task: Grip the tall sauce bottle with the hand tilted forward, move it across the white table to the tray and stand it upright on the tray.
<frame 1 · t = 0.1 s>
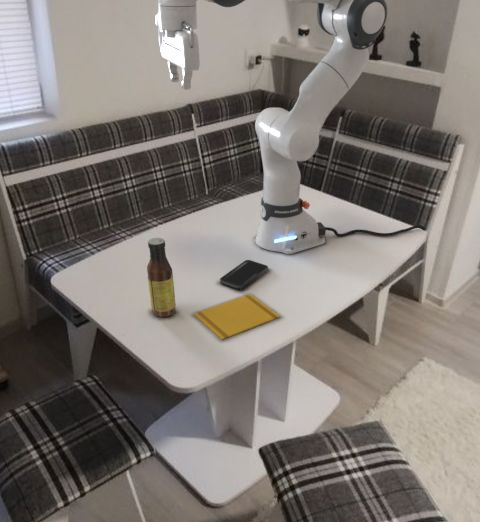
hand: (180, 85, 131), 48 cm above the table, tool pointing down, fingers open, 8 cm apart
phone: (244, 276, 151), on the table
sauce bottle: (163, 312, 136), on the table
tray: (236, 316, 135), on the table
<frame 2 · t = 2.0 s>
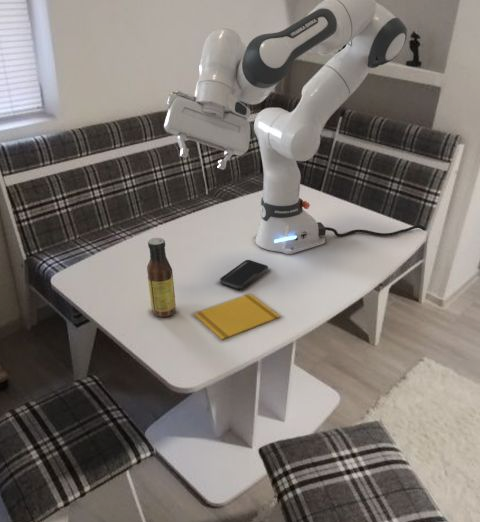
hand: (202, 162, 121), 36 cm above the table, tool tilted 35°, fingers open, 8 cm apart
nothing on the table moved.
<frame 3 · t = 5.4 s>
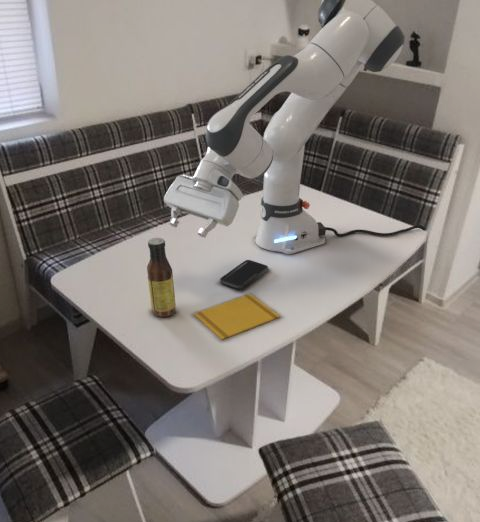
hand: (186, 230, 130), 19 cm above the table, tool tilted 45°, fingers open, 8 cm apart
nothing on the table moved.
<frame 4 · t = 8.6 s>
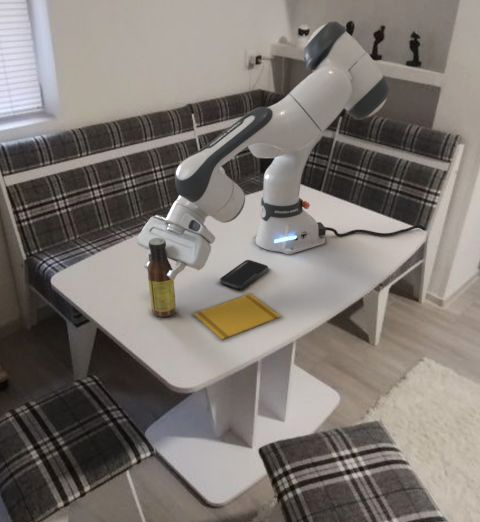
hand: (158, 273, 129), 11 cm above the table, tool tilted 45°, fingers closed on sauce bottle, 6 cm apart
sauce bottle: (163, 312, 136), on the table, touching gripper
everything else where it was.
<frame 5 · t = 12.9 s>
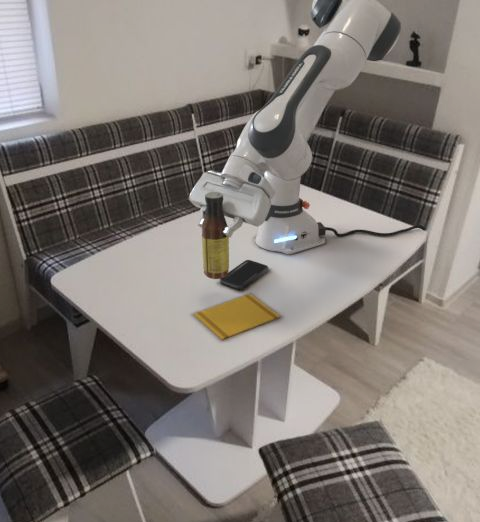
hand: (213, 231, 121), 23 cm above the table, tool tilted 45°, fingers closed on sauce bottle, 6 cm apart
sauce bottle: (215, 274, 128), point 12 cm above the table, touching gripper
everything else where it was.
when the fingers open (12 cm above the table, at t = 17.3 s): sauce bottle stays where it is, resting on tray.
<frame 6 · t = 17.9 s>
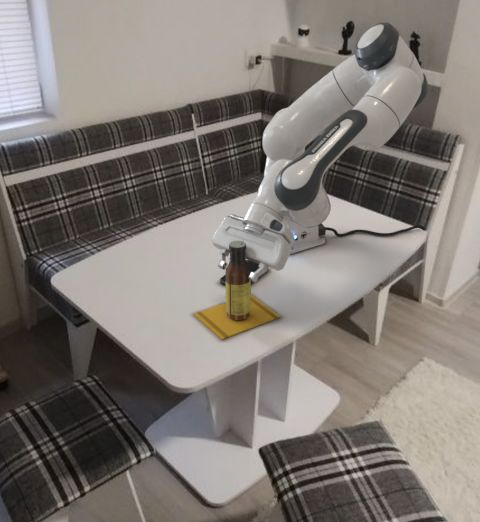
hand: (236, 274, 127), 12 cm above the table, tool tilted 45°, fingers open, 8 cm apart
sauce bottle: (237, 315, 135), resting on tray
everything else where it was.
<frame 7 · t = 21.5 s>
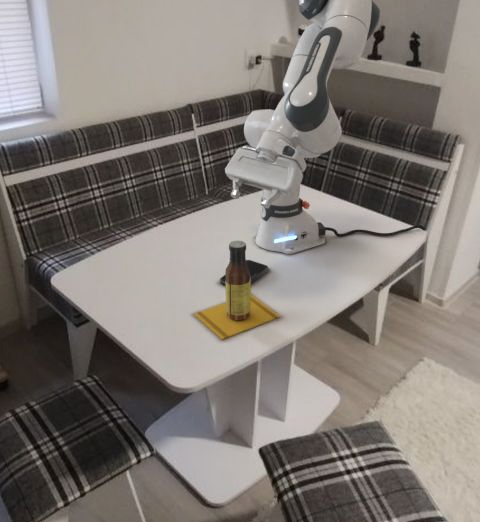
hand: (248, 202, 129), 25 cm above the table, tool tilted 45°, fingers open, 8 cm apart
nothing on the table moved.
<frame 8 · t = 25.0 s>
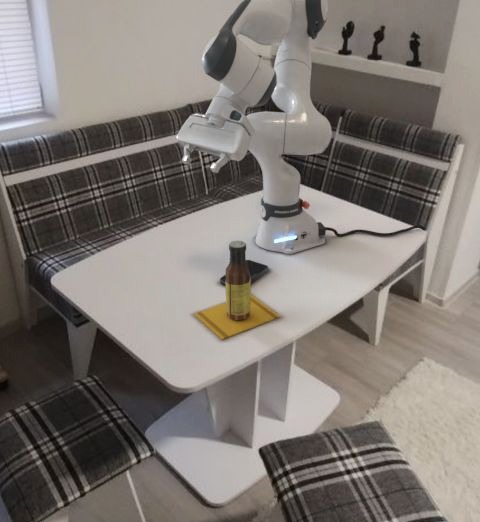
hand: (199, 167, 132), 31 cm above the table, tool tilted 45°, fingers open, 8 cm apart
nothing on the table moved.
at the end: sauce bottle 0.2 cm from the tray (horizontally); sauce bottle tilted 0°; the gripper is holding nothing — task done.
